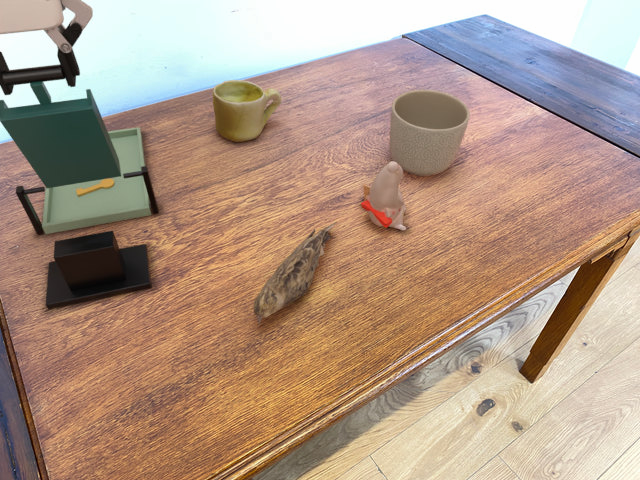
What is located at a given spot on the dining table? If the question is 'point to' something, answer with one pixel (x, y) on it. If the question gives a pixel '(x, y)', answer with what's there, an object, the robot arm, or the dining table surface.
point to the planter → (427, 130)
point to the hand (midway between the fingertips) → (41, 84)
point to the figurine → (386, 198)
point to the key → (96, 187)
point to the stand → (92, 259)
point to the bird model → (292, 275)
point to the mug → (242, 109)
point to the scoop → (59, 132)
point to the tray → (102, 192)
